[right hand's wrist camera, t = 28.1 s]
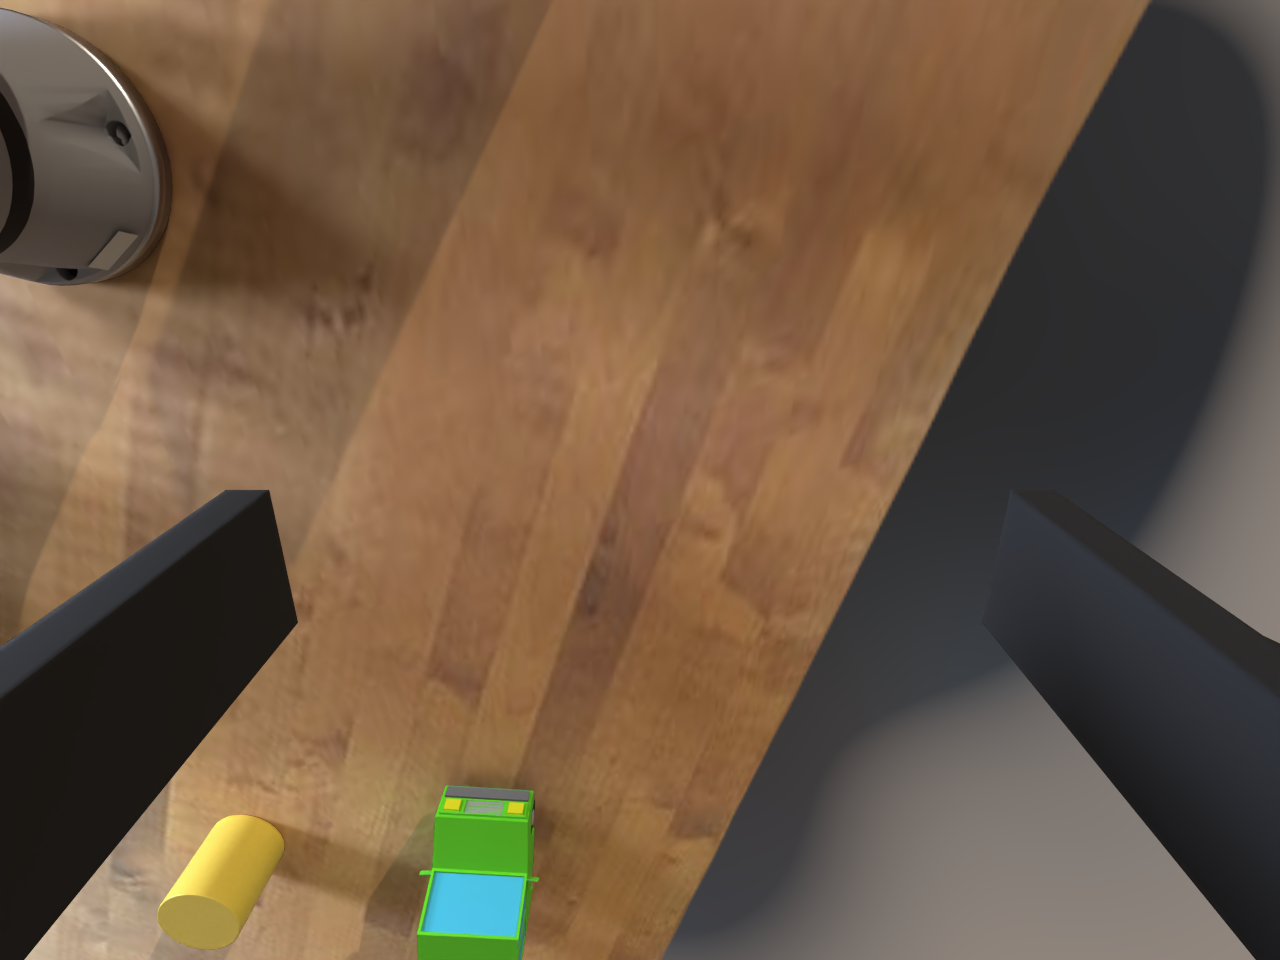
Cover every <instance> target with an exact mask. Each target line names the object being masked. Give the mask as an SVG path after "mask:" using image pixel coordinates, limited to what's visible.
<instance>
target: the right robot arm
mask: <svg viewBox="0 0 1280 960" xmlns="http://www.w3.org/2000/svg"><path fill="white" fill-rule="evenodd" d="M171 201H172V177H171V169H170V163H169V158H168V154H167V150H166V146H165V143H164V140H163V138H162V135H161V132H160V130H159V128H158V125H157V123H156V121H155V119H154V117H153V115H152V113H151V111H150V109H149V107H148V106H147V104H146V103H145V101H144V99H143V98H142V96H141V95H140V93H139V92H138V91H137V89H136V88H135V87H134V85H133V84H132V82H131V81H130V80H129V79H128V78H127V77H126V75H125V74H124V73H123V72H122V71H121V70H120V69H119V68H118V67H117V66H116V65H115V64H114V63H113V62H112V61H111V60H110V59H109V58H108V57H107V56H106V55H104V54H103V53H102V52H101V51H100V50H98V49H97V48H96V47H94V46H93V45H92V44H90V43H89V42H88V41H86V40H84V39H83V38H81V37H80V36H78V35H76V34H75V33H73V32H71V31H69V30H67V29H65V28H63V27H61V26H59V25H56V24H54V23H51V22H49V21H46V20H42V19H39V18H36V17H33V16H29V15H26V14H23V13H19V12H16V11H13V10H8V9H3V8H0V274H4V275H8V276H12V277H16V278H20V279H24V280H28V281H33V282H38V283H44V284H50V285H78V284H85V283H92V282H99V281H104V280H108V279H112V278H115V277H118V276H120V275H123V274H125V273H127V272H128V271H130V270H132V269H133V268H135V267H136V266H138V265H139V264H140V263H142V262H143V261H144V260H145V259H146V258H147V257H148V256H149V255H150V253H151V252H152V251H153V250H154V248H155V247H156V245H157V244H158V242H159V241H160V239H161V237H162V235H163V233H164V230H165V228H166V225H167V222H168V218H169V214H170V209H171ZM297 623H298V621H297V616H296V611H295V607H294V602H293V598H292V593H291V588H290V584H289V579H288V575H287V570H286V565H285V561H284V556H283V552H282V547H281V543H280V538H279V533H278V529H277V524H276V520H275V515H274V510H273V506H272V501H271V497H270V492H269V490H225V491H224V492H222V493H221V494H219V495H218V496H217V497H215V498H214V499H212V500H211V501H209V502H208V503H207V504H205V505H204V506H202V507H201V508H199V509H198V510H197V511H195V512H194V513H192V514H191V515H189V516H188V517H186V518H185V519H184V520H182V521H181V522H179V523H178V524H176V525H175V526H174V527H172V528H171V529H169V530H168V531H166V532H165V533H164V534H162V535H161V536H159V537H158V538H156V539H155V540H153V541H152V542H151V543H149V544H148V545H146V546H145V547H143V548H142V549H141V550H139V551H138V552H136V553H135V554H133V555H132V556H131V557H129V558H128V559H126V560H125V561H123V562H122V563H120V564H119V565H118V566H116V567H115V568H113V569H112V570H110V571H109V572H108V573H106V574H105V575H103V576H102V577H100V578H99V579H98V580H96V581H95V582H93V583H92V584H90V585H89V586H87V587H86V588H85V589H83V590H82V591H80V592H79V593H77V594H76V595H75V596H73V597H72V598H70V599H69V600H67V601H66V602H65V603H63V604H62V605H60V606H59V607H57V608H56V609H54V610H53V611H52V612H50V613H49V614H47V615H46V616H44V617H43V618H42V619H40V620H39V621H37V622H36V623H34V624H33V625H32V626H30V627H29V628H27V629H26V630H24V631H23V632H22V633H20V634H19V635H17V636H16V637H14V638H13V639H11V640H10V641H9V642H7V643H6V644H4V645H3V646H1V647H0V960H24V959H25V958H26V957H27V956H28V954H29V953H30V952H31V951H32V949H33V948H34V947H35V946H36V945H37V943H38V942H39V941H40V940H41V938H42V937H43V936H44V935H45V933H46V932H47V931H48V930H49V929H50V927H51V926H52V925H53V924H54V922H55V921H56V920H57V919H58V917H59V916H60V915H61V914H62V913H63V911H64V910H65V909H66V908H67V906H68V905H69V904H70V903H71V901H72V900H73V899H74V898H75V897H76V895H77V894H78V893H79V892H80V890H81V889H82V888H83V887H84V885H85V884H86V883H87V882H88V880H89V879H90V878H91V877H92V876H93V874H94V873H95V872H96V871H97V869H98V868H99V867H100V866H101V864H102V863H103V862H104V861H105V860H106V858H107V857H108V856H109V855H110V853H111V852H112V851H113V850H114V848H115V847H116V846H117V845H118V844H119V842H120V841H121V840H122V839H123V837H124V836H125V835H126V834H127V832H128V831H129V830H130V829H131V828H132V826H133V825H134V824H135V823H136V821H137V820H138V819H139V818H140V816H141V815H142V814H143V813H144V812H145V810H146V809H147V808H148V807H149V805H150V804H151V803H152V802H153V800H154V799H155V798H156V797H157V796H158V794H159V793H160V792H161V791H162V789H163V788H164V787H165V786H166V784H167V783H168V782H169V781H170V780H171V778H172V777H173V776H174V775H175V773H176V772H177V771H178V770H179V768H180V767H181V766H182V765H183V764H184V762H185V761H186V760H187V759H188V757H189V756H190V755H191V754H192V752H193V751H194V750H195V749H196V747H197V746H198V745H199V744H200V743H201V741H202V740H203V739H204V738H205V736H206V735H207V734H208V733H209V731H210V730H211V729H212V728H213V727H214V725H215V724H216V723H217V722H218V720H219V719H220V718H221V717H222V715H223V714H224V713H225V712H226V711H227V709H228V708H229V707H230V706H231V704H232V703H233V702H234V701H235V699H236V698H237V697H238V696H239V695H240V693H241V692H242V691H243V690H244V688H245V687H246V686H247V685H248V683H249V682H250V681H251V680H252V679H253V677H254V676H255V675H256V674H257V672H258V671H259V670H260V669H261V667H262V666H263V665H264V664H265V663H266V661H267V660H268V659H269V658H270V656H271V655H272V654H273V653H274V651H275V650H276V649H277V648H278V647H279V645H280V644H281V643H282V642H283V640H284V639H285V638H286V637H287V635H288V634H289V633H290V632H291V630H292V629H293V628H294V627H295V626H296V624H297ZM982 623H983V624H984V626H985V627H986V628H987V629H988V630H989V632H990V633H991V634H992V635H993V637H994V638H995V639H996V640H997V642H998V643H999V644H1000V645H1001V646H1002V648H1003V649H1004V650H1005V651H1006V653H1007V654H1008V655H1009V656H1010V658H1011V659H1012V660H1013V661H1014V663H1015V664H1016V665H1017V666H1018V667H1019V669H1020V670H1021V671H1022V672H1023V674H1024V675H1025V676H1026V677H1027V679H1028V680H1029V681H1030V682H1031V683H1032V685H1033V686H1034V687H1035V688H1036V690H1037V691H1038V692H1039V693H1040V695H1041V696H1042V697H1043V698H1044V699H1045V701H1046V702H1047V703H1048V704H1049V706H1050V707H1051V708H1052V709H1053V710H1054V712H1055V713H1056V714H1057V715H1058V717H1059V718H1060V719H1061V720H1062V722H1063V723H1064V724H1065V725H1066V727H1067V728H1068V729H1069V730H1070V731H1071V733H1072V734H1073V735H1074V736H1075V738H1076V739H1077V740H1078V741H1079V743H1080V744H1081V745H1082V746H1083V747H1084V749H1085V750H1086V751H1087V752H1088V754H1089V755H1090V756H1091V757H1092V759H1093V760H1094V761H1095V762H1096V763H1097V765H1098V766H1099V767H1100V768H1101V770H1102V771H1103V772H1104V773H1105V775H1106V776H1107V777H1108V778H1109V779H1110V781H1111V782H1112V783H1113V784H1114V786H1115V787H1116V788H1117V789H1118V791H1119V792H1120V793H1121V794H1122V795H1123V797H1124V798H1125V799H1126V800H1127V802H1128V803H1129V804H1130V805H1131V807H1132V808H1133V809H1134V810H1135V812H1136V813H1137V814H1138V815H1139V816H1140V818H1141V819H1142V820H1143V821H1144V823H1145V824H1146V825H1147V826H1148V828H1149V829H1150V830H1151V831H1152V832H1153V834H1154V835H1155V836H1156V837H1157V839H1158V840H1159V841H1160V842H1161V844H1162V845H1163V846H1164V847H1165V848H1166V850H1167V851H1168V852H1169V853H1170V855H1171V856H1172V857H1173V858H1174V860H1175V861H1176V862H1177V863H1178V864H1179V866H1180V867H1181V868H1182V869H1183V871H1184V872H1185V873H1186V874H1187V876H1188V877H1189V878H1190V879H1191V880H1192V882H1193V883H1194V884H1195V885H1196V887H1197V888H1198V889H1199V890H1200V892H1201V893H1202V894H1203V895H1204V896H1205V898H1206V899H1207V900H1208V901H1209V903H1210V904H1211V905H1212V906H1213V908H1214V909H1215V910H1216V911H1217V913H1218V914H1219V915H1220V916H1221V917H1222V919H1223V920H1224V921H1225V922H1226V924H1227V925H1228V926H1229V927H1230V928H1231V930H1232V931H1233V932H1234V933H1235V935H1236V936H1237V937H1238V938H1239V940H1240V941H1241V942H1242V943H1243V945H1244V946H1245V947H1246V948H1247V949H1248V951H1249V952H1250V953H1251V954H1252V956H1253V957H1254V958H1255V959H1256V960H1280V644H1279V643H1277V642H1275V641H1273V640H1271V639H1269V638H1267V637H1265V636H1263V635H1261V634H1260V633H1258V632H1257V631H1256V630H1254V629H1253V628H1251V627H1250V626H1248V625H1247V624H1246V623H1244V622H1243V621H1241V620H1240V619H1238V618H1237V617H1236V616H1234V615H1233V614H1231V613H1230V612H1228V611H1227V610H1226V609H1224V608H1223V607H1221V606H1220V605H1218V604H1217V603H1215V602H1214V601H1213V600H1211V599H1210V598H1208V597H1207V596H1205V595H1204V594H1203V593H1201V592H1200V591H1198V590H1197V589H1195V588H1194V587H1192V586H1191V585H1190V584H1188V583H1187V582H1185V581H1184V580H1182V579H1181V578H1180V577H1178V576H1177V575H1175V574H1174V573H1172V572H1171V571H1170V570H1168V569H1167V568H1165V567H1164V566H1162V565H1161V564H1160V563H1158V562H1157V561H1155V560H1154V559H1152V558H1151V557H1149V556H1148V555H1147V554H1145V553H1144V552H1142V551H1141V550H1139V549H1138V548H1136V547H1135V546H1134V545H1132V544H1131V543H1129V542H1128V541H1127V540H1125V539H1124V538H1122V537H1121V536H1119V535H1118V534H1116V533H1115V532H1114V531H1112V530H1111V529H1109V528H1108V527H1106V526H1105V525H1103V524H1102V523H1101V522H1099V521H1098V520H1096V519H1095V518H1094V517H1092V516H1091V515H1089V514H1088V513H1086V512H1085V511H1083V510H1082V509H1081V508H1079V507H1078V506H1076V505H1075V504H1073V503H1072V502H1070V501H1069V500H1068V499H1066V498H1065V497H1063V496H1062V495H1061V494H1059V493H1058V492H1056V491H1055V490H1011V492H1010V497H1009V501H1008V506H1007V510H1006V515H1005V520H1004V524H1003V529H1002V533H1001V538H1000V543H999V547H998V552H997V556H996V561H995V566H994V570H993V575H992V579H991V584H990V588H989V593H988V598H987V602H986V607H985V611H984V616H983V621H982Z"/></svg>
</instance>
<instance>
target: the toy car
mask: <svg viewBox="0 0 1280 960" xmlns="http://www.w3.org/2000/svg"><path fill="white" fill-rule="evenodd" d="M534 810H535V800H534V791H530V790H514V789H497V788H481V787H465V786H448V785H446V786H445V789H444V792H443V795H442V798H441V801H440V804H439V807H438V810H437V813H436V816H435V829H434V846H433V864H432V871H420V874H419V875H431V876H430V880H429V884H428V889H427V893H426V897H425V902H424V906H423V910H422V915H421V919H420V923H419V928H418V932H417V944H418V960H522V956H523V950H524V943H525V937H526V930H527V924H528V917H529V911H530V905H531V898H532V891H533V885H531V882H532V881H534V882H538V880H539V878H540V877H532V873H533V860H534V827H533V822H534V813H535V812H534Z"/></svg>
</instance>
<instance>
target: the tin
mask: <svg viewBox="0 0 1280 960" xmlns="http://www.w3.org/2000/svg"><path fill="white" fill-rule="evenodd" d="M284 848H285V846H284V840H283V838H282V836H281V834H280V833H279V831H278V830H277V829H276V828H275V827H274V826H272V825H271V824H270V823H268V822H266V821H264V820H262V819H260V818H257V817H254V816H249V815H233V816H229V817H226V818H224V819H222V820H220V821H219V822H218V823H217V824H216V825H215V826H214V827H213V829H212V830H211V832H210V833H209V835H208V836H207V838H206V839H205V841H204V842H203V843H202V845H201V846H200V848H199V849H198V851H197V852H196V854H195V855H194V857H193V858H192V860H191V861H190V863H189V864H188V865H187V867H186V868H185V870H184V871H183V873H182V874H181V876H180V877H179V879H178V880H177V882H176V883H175V885H174V886H173V887H172V889H171V890H170V892H169V893H168V895H167V896H166V898H165V899H164V901H163V902H162V904H161V905H160V907H159V909H158V913H157V919H158V922H159V925H160V927H161V928H162V930H163V931H164V932H165V933H166V934H167V935H168V936H169V937H171V938H172V939H173V940H175V941H177V942H179V943H181V944H183V945H185V946H188V947H192V948H196V949H204V950H212V949H219V948H223V947H225V946H228V945H229V944H231V943H232V942H234V941H235V940H236V938H237V937H238V935H239V934H240V932H241V930H242V928H243V926H244V924H245V923H246V921H247V919H248V917H249V915H250V913H251V912H252V910H253V908H254V906H255V904H256V902H257V901H258V899H259V897H260V895H261V893H262V892H263V890H264V888H265V886H266V884H267V882H268V881H269V879H270V877H271V875H272V873H273V871H274V870H275V868H276V866H277V864H278V862H279V860H280V859H281V857H282V855H283V853H284Z"/></svg>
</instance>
